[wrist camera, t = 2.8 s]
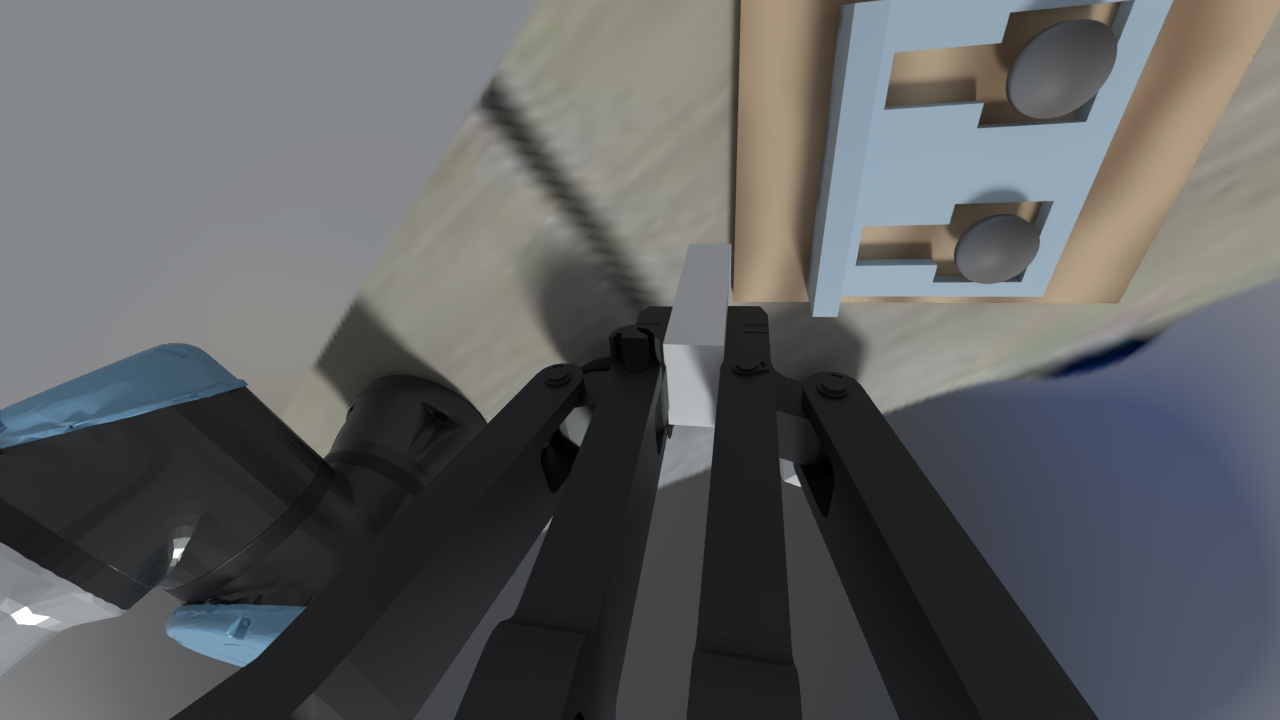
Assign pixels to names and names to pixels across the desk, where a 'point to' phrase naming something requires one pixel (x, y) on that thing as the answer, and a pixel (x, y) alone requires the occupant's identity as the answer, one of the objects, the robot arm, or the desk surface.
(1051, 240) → the panel
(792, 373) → the desk surface
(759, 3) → the board
